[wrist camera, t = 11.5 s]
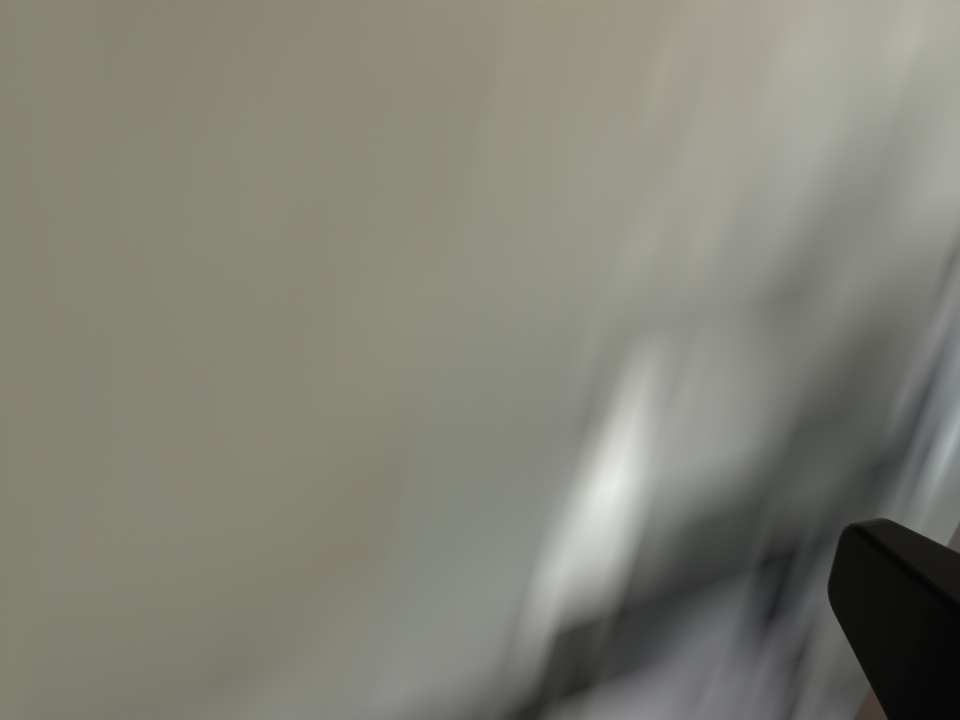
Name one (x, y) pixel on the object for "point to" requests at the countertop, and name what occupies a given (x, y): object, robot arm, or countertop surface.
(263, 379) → the countertop surface
